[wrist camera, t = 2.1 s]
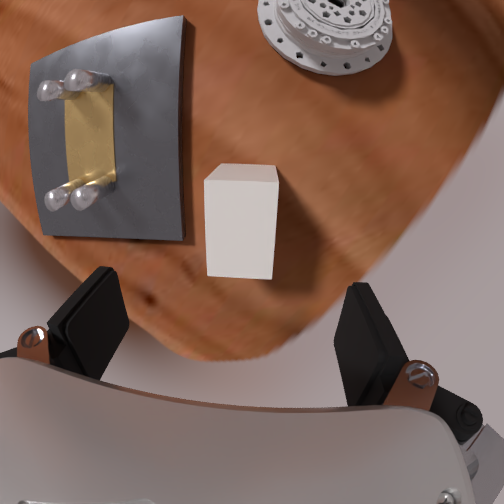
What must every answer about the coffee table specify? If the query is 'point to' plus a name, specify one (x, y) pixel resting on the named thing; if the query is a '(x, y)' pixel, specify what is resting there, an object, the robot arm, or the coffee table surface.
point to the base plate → (111, 134)
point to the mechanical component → (328, 33)
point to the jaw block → (241, 220)
